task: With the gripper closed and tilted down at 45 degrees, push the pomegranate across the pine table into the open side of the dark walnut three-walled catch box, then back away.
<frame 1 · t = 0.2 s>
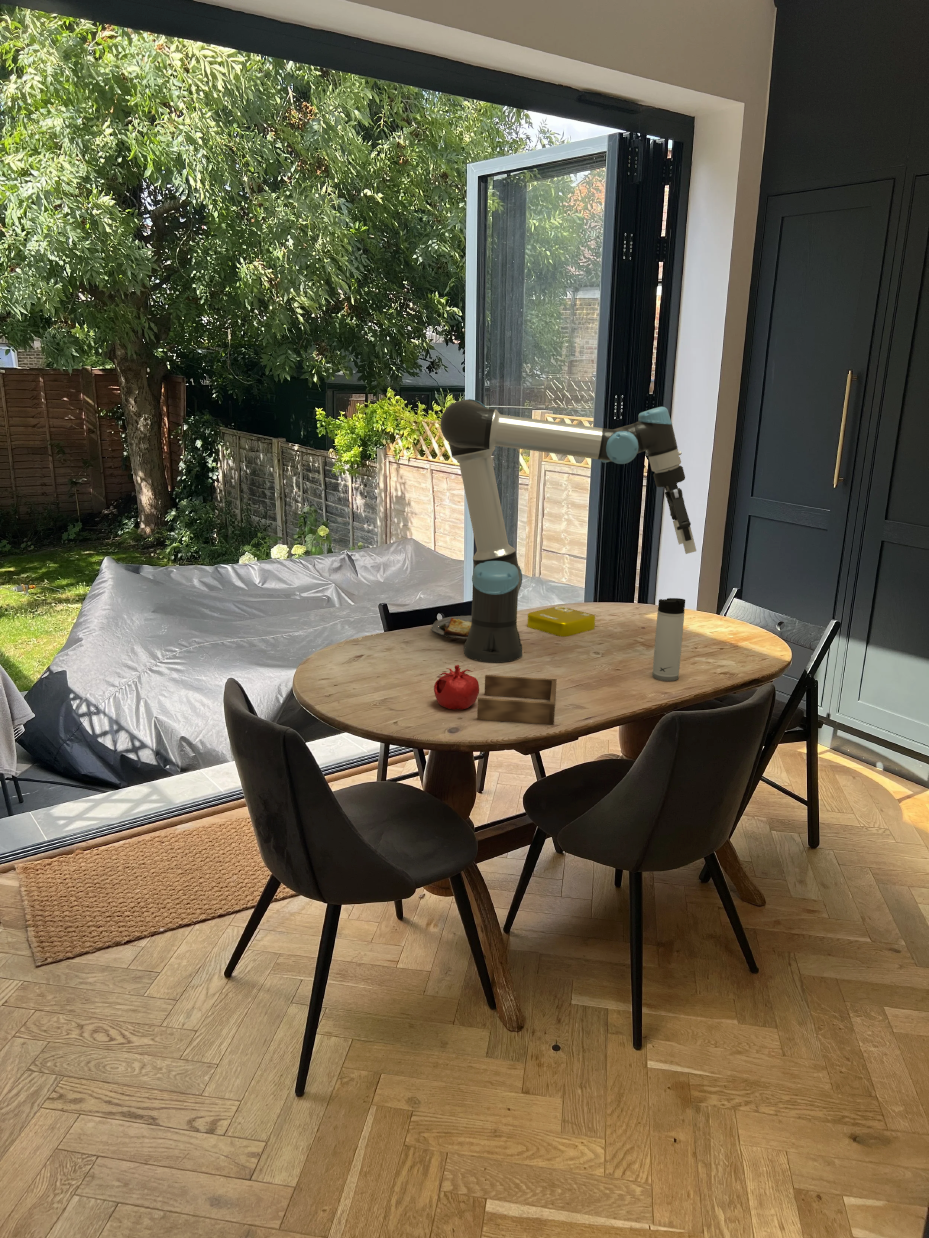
hand: (687, 547, 231), 28 cm above the table, tool tilted 20°, fingers open, 13 cm apart
food plate: (473, 634, 249), on the table
travel mug: (665, 678, 215), on the table
element tile: (560, 629, 257), on the table
pomegranate: (456, 705, 194), on the table
catch box: (515, 708, 193), on the table
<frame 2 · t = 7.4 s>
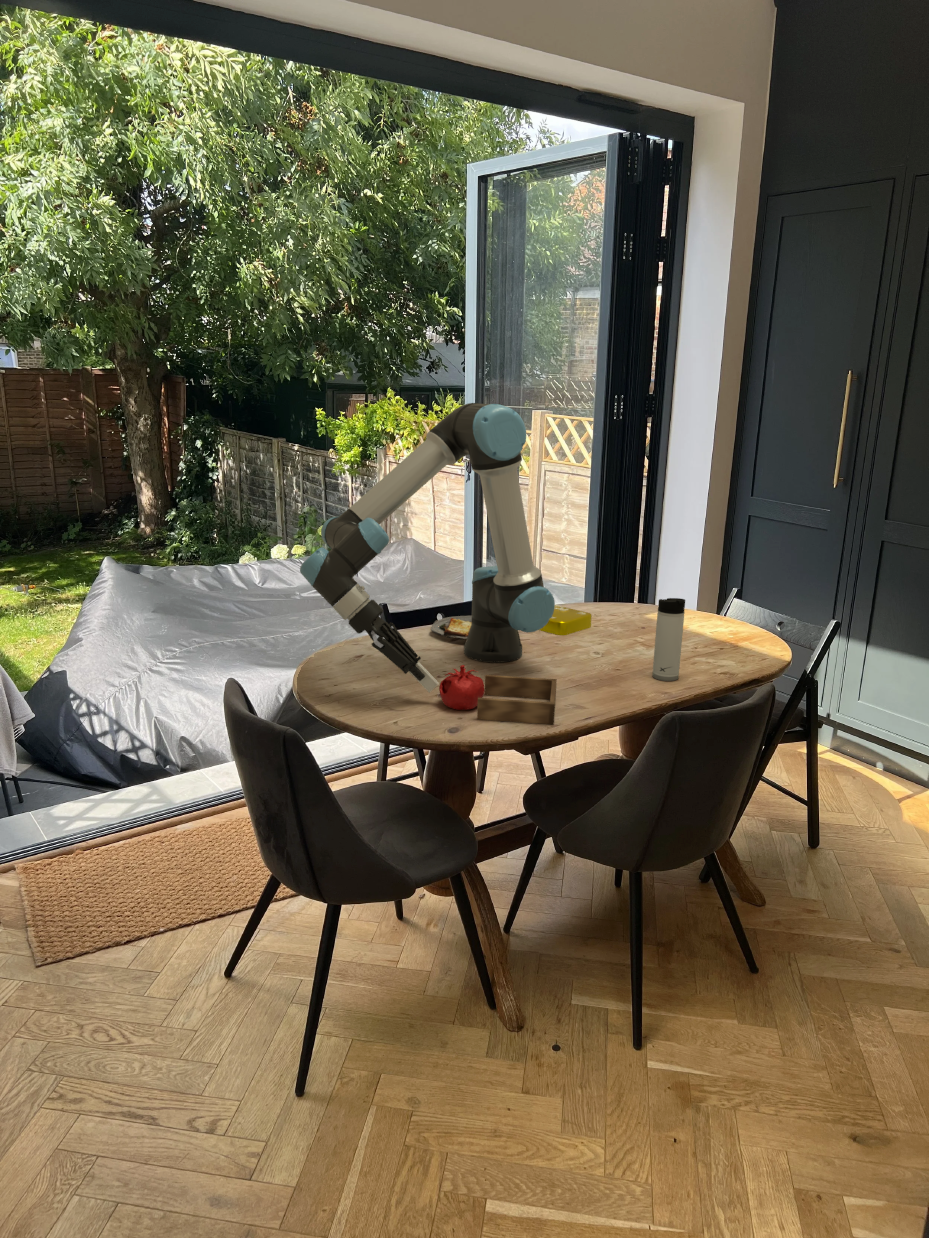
hand: (434, 687, 194), 4 cm above the table, tool tilted 45°, fingers closed
element tile: (557, 628, 258), on the table
pomegranate: (461, 705, 194), on the table, touching gripper
everything else where it was.
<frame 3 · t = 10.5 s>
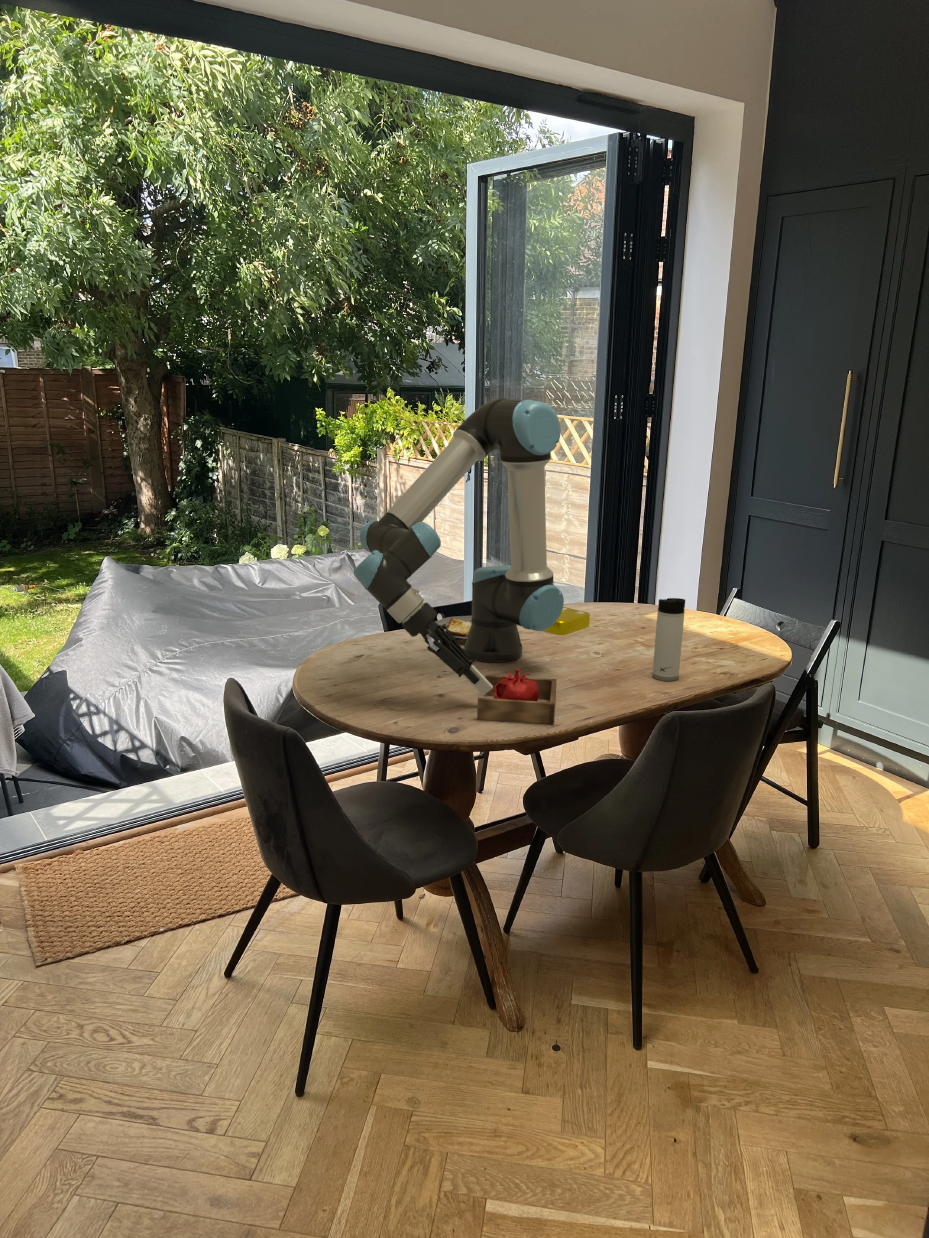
hand: (488, 691, 192), 4 cm above the table, tool tilted 45°, fingers closed
pomegranate: (515, 709, 193), on the table
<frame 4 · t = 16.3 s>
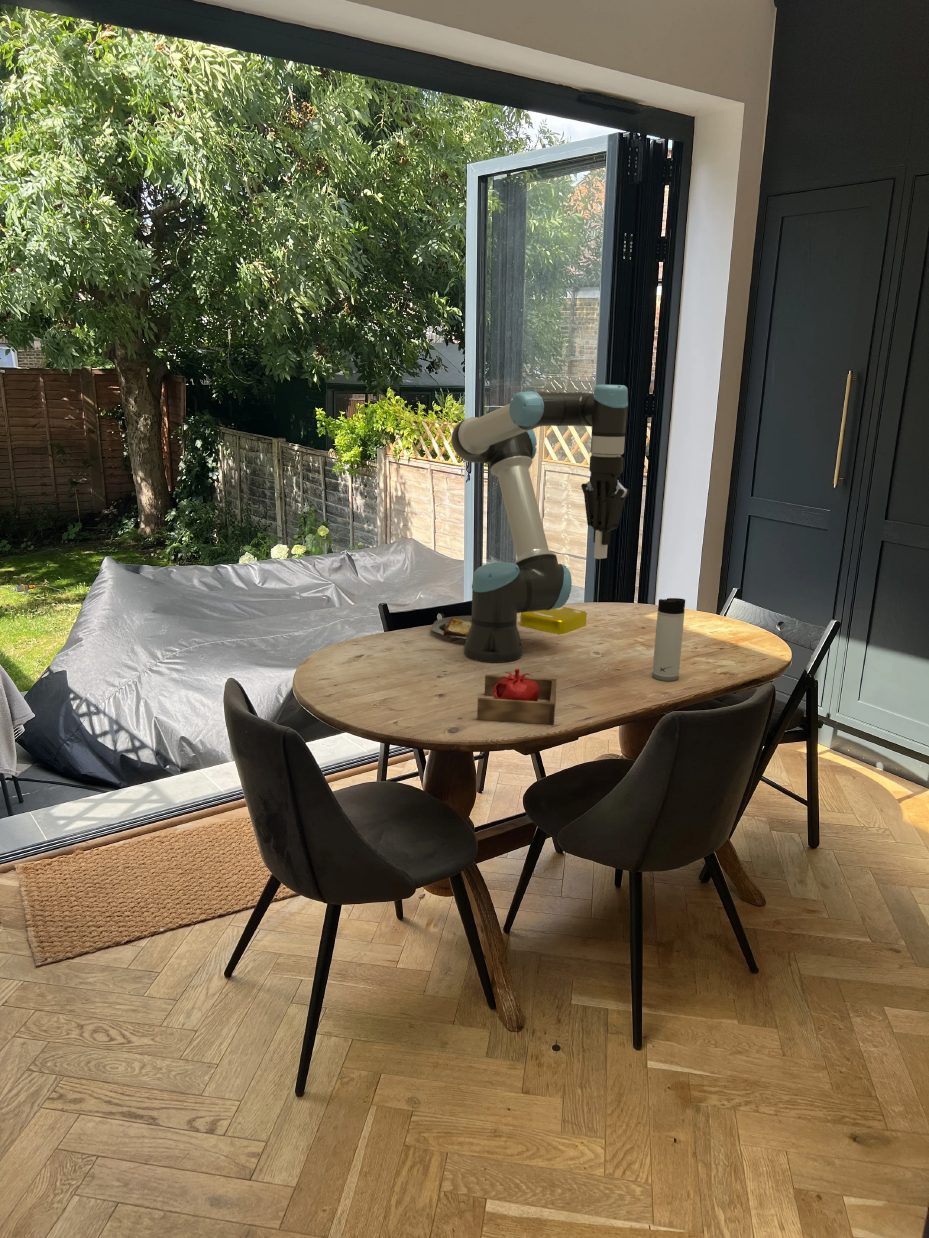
hand: (600, 557, 206), 29 cm above the table, tool pointing down, fingers closed
element tile: (553, 626, 259), on the table
everything else where it was.
at the end: pomegranate 0.1 cm from the catch box (horizontally); pomegranate moved 13.0 cm from its start; pomegranate on the table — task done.
